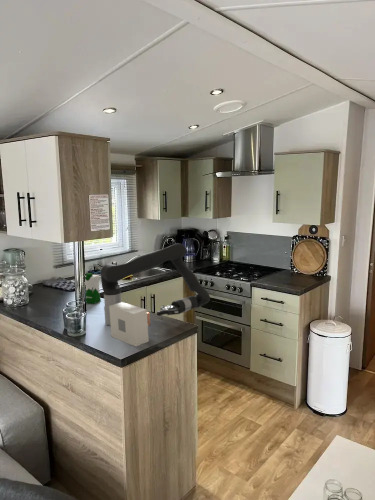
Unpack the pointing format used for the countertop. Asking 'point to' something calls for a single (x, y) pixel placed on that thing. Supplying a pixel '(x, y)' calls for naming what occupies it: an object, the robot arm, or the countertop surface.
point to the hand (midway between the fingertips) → (157, 313)
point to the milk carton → (92, 288)
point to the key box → (129, 323)
